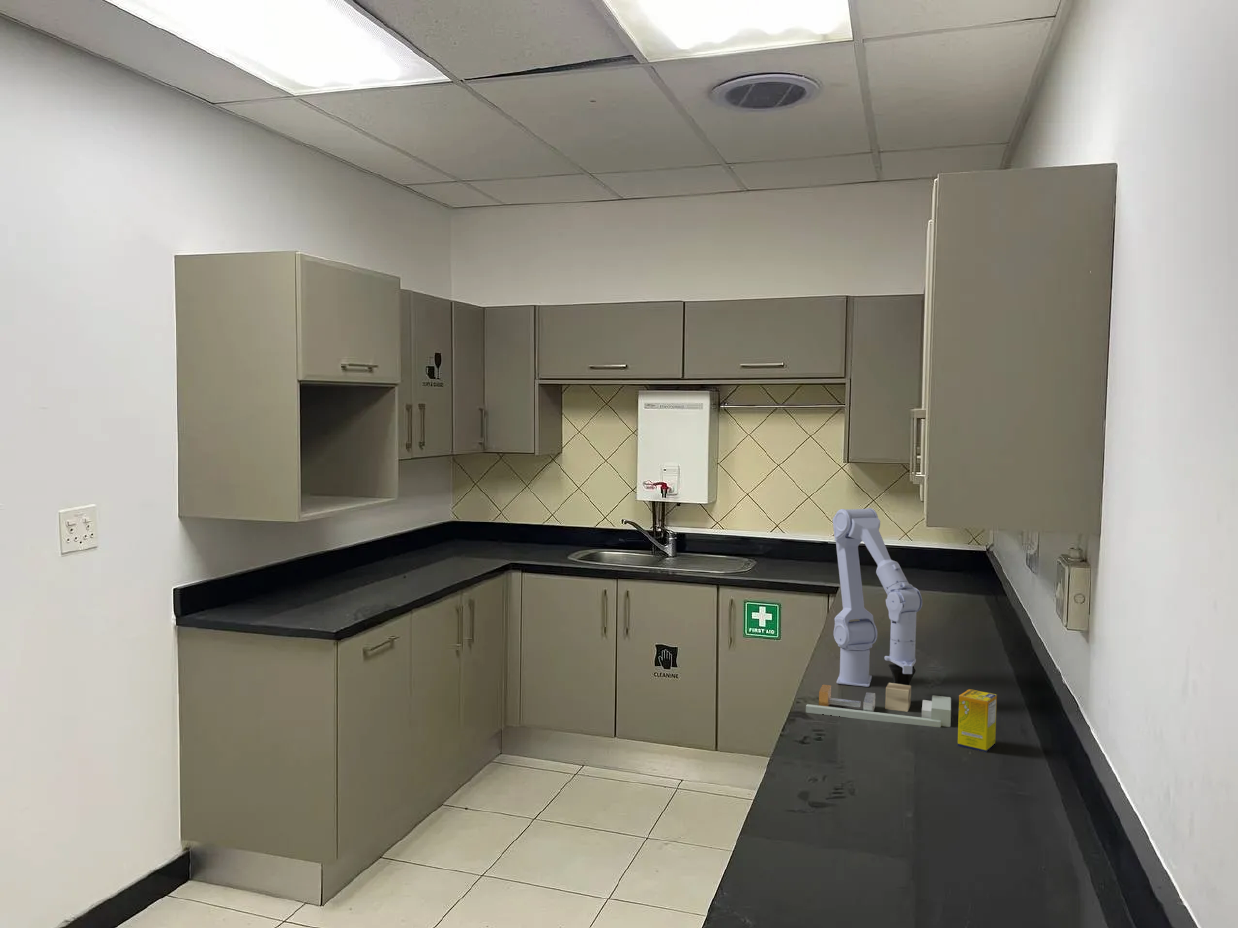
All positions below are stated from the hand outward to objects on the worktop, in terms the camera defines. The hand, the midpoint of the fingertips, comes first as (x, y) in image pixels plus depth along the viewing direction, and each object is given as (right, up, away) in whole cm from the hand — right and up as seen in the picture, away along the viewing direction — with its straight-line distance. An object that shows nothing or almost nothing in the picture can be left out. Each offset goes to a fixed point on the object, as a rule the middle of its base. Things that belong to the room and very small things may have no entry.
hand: (901, 695), depth 218 cm
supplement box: (+7, -4, -29) cm, 30 cm away
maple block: (-2, -2, -4) cm, 5 cm away
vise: (-8, -2, -8) cm, 11 cm away
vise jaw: (-14, -1, -5) cm, 15 cm away
